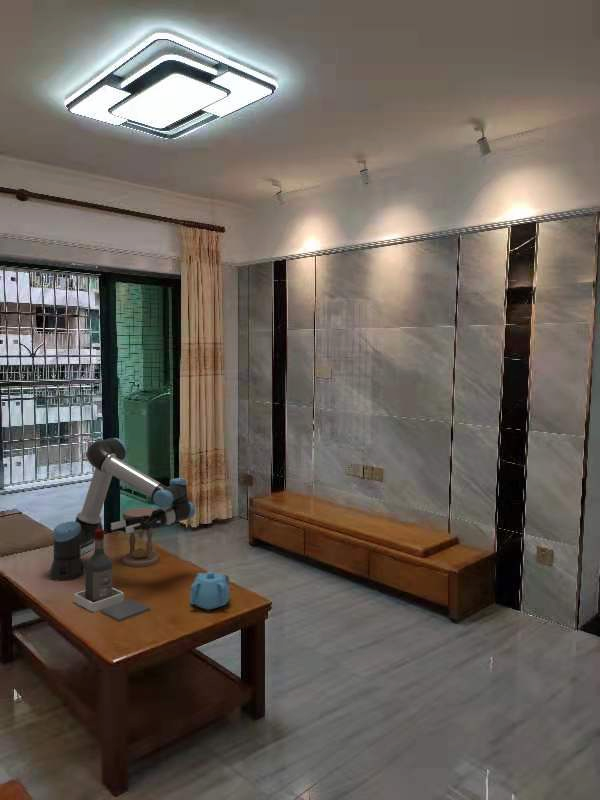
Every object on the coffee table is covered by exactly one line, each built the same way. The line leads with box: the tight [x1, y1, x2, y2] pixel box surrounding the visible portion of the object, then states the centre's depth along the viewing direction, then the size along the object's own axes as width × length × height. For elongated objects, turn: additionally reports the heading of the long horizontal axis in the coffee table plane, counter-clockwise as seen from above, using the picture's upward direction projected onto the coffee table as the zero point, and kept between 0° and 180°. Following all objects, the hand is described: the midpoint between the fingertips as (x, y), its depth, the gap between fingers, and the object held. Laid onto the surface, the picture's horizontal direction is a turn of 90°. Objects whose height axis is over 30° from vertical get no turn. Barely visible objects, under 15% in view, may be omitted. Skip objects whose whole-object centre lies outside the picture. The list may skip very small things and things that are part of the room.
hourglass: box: [121, 507, 160, 568], centre depth 288 cm, size 18×18×25 cm
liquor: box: [84, 529, 114, 603], centre depth 238 cm, size 9×9×30 cm
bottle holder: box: [73, 586, 125, 613], centre depth 239 cm, size 15×15×4 cm
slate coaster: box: [99, 598, 151, 623], centre depth 231 cm, size 13×14×1 cm
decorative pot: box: [189, 571, 231, 610], centre depth 239 cm, size 16×16×14 cm
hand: (118, 528), depth 246 cm, fingers open, 13 cm apart
